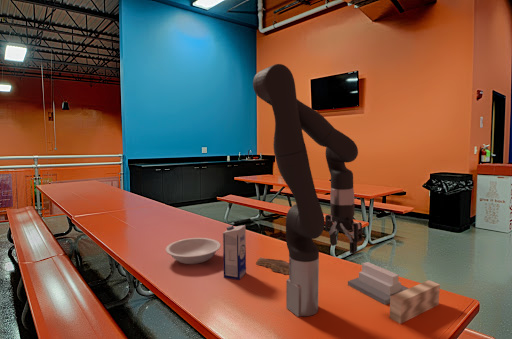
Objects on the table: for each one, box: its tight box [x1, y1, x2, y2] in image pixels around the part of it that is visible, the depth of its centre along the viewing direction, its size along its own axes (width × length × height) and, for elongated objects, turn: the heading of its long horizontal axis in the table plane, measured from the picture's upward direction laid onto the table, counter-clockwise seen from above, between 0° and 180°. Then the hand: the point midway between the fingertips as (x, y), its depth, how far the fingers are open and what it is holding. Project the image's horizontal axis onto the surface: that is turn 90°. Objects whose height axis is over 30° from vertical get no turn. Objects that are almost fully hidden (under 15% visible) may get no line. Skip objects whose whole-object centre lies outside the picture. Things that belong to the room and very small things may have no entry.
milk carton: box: [222, 224, 247, 281], centre depth 122 cm, size 7×7×20 cm
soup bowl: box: [165, 237, 222, 265], centre depth 138 cm, size 24×24×7 cm
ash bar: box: [389, 279, 441, 325], centre depth 96 cm, size 20×4×7 cm, turn 121°
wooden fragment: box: [255, 257, 289, 276], centre depth 130 cm, size 26×11×1 cm, turn 45°
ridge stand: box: [347, 261, 410, 306], centre depth 110 cm, size 14×16×8 cm
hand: (343, 248), depth 103 cm, fingers open, 8 cm apart
